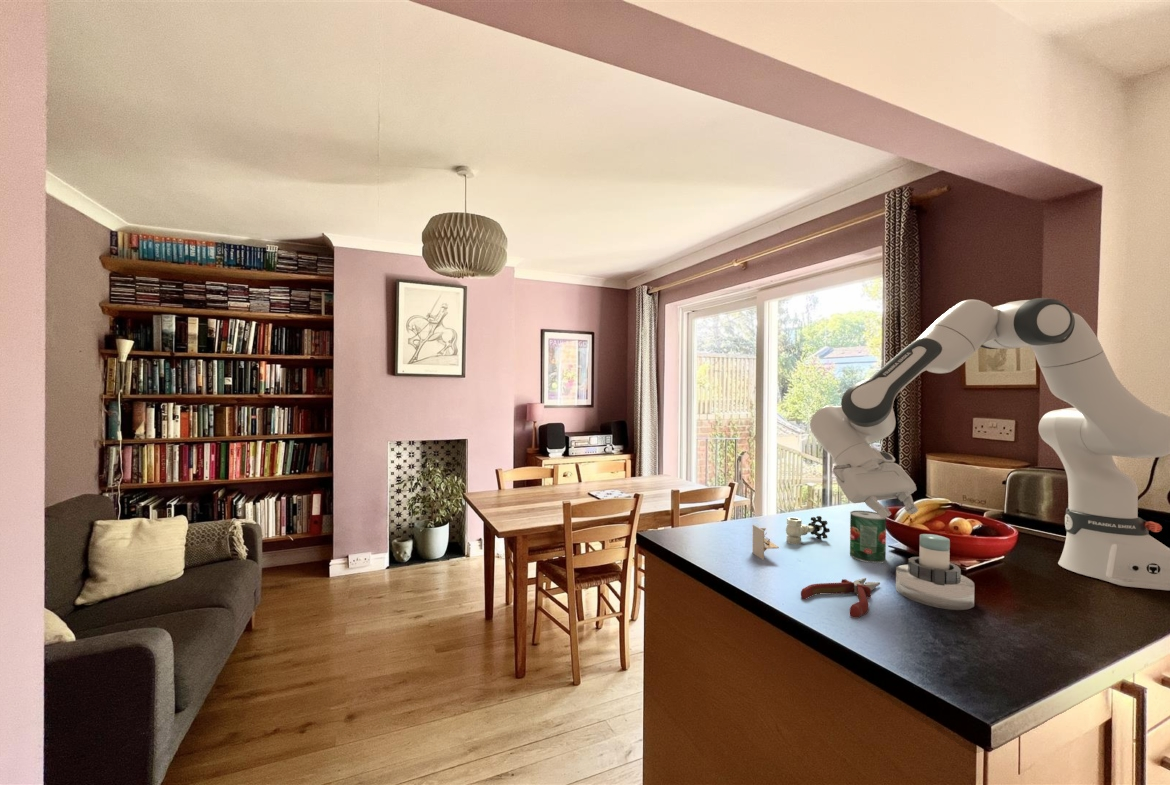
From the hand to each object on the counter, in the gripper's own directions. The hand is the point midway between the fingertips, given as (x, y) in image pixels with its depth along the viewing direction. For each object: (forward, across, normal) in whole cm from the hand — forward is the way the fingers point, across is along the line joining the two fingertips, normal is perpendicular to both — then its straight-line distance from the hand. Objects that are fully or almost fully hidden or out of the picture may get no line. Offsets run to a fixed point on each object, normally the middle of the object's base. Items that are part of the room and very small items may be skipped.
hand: (901, 514), depth 103 cm
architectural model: (-7, -16, +28) cm, 33 cm away
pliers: (+12, -17, +10) cm, 23 cm away
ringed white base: (+15, +1, +7) cm, 16 cm away
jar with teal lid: (+13, 0, +3) cm, 13 cm away
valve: (-10, +5, +32) cm, 34 cm away
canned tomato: (+1, +9, +21) cm, 23 cm away
